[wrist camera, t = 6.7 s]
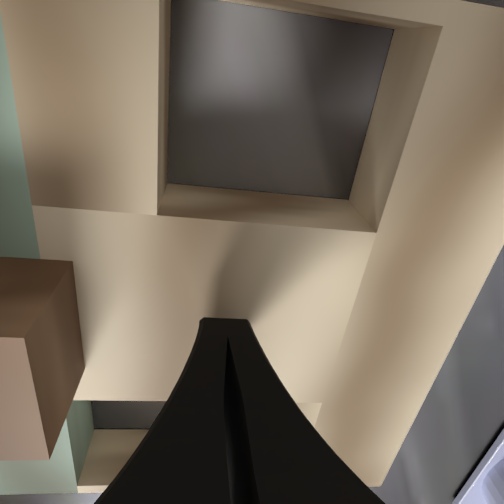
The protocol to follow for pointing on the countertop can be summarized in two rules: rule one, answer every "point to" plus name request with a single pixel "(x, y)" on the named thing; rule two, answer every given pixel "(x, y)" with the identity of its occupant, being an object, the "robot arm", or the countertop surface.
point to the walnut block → (37, 354)
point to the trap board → (251, 223)
